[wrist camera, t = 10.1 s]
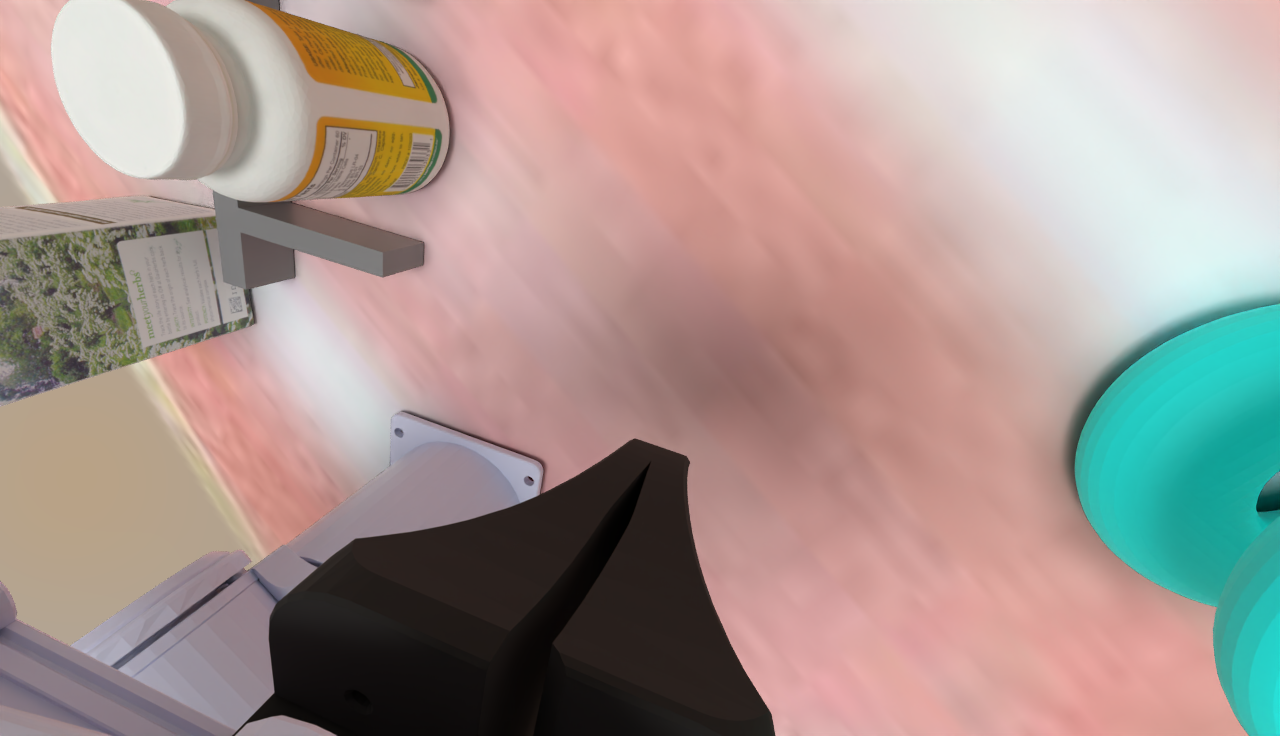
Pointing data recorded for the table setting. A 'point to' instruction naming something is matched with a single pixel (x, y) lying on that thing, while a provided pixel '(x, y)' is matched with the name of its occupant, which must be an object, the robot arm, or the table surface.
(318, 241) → the grey tray with block
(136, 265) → the syrup box
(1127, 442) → the donuts
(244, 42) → the supplement bottle
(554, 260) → the table surface
